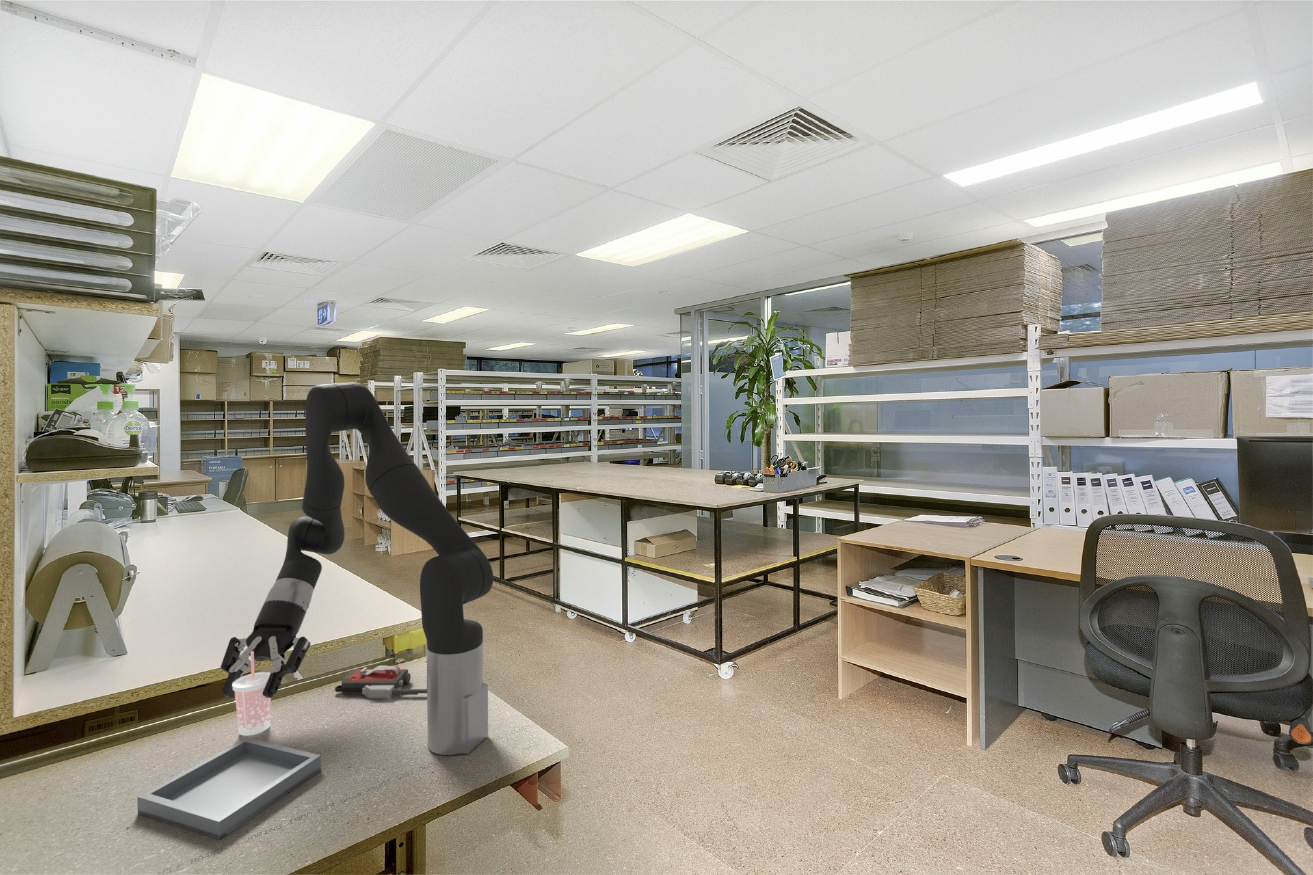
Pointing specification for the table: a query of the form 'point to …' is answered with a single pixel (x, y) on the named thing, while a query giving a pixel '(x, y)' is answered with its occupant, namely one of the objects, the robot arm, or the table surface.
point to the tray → (229, 787)
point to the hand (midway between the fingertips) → (247, 696)
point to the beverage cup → (252, 702)
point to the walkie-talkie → (378, 682)
